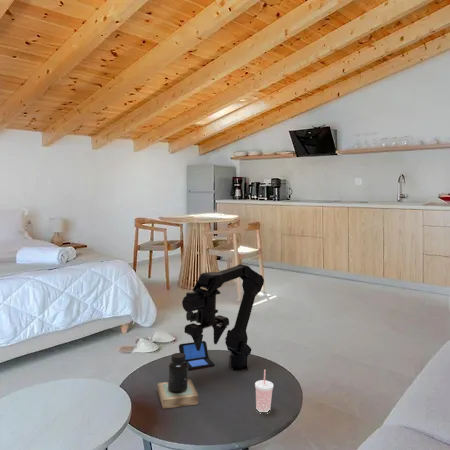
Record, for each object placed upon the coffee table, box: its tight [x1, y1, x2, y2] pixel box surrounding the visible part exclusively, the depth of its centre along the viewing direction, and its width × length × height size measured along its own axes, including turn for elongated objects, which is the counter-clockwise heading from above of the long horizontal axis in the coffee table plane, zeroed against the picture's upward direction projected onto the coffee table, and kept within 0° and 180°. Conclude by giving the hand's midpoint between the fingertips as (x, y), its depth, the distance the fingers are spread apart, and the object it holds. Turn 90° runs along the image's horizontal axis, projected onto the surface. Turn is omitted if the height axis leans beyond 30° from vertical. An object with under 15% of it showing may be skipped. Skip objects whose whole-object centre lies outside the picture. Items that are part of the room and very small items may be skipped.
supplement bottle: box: [167, 352, 189, 393], centre depth 143 cm, size 7×7×12 cm
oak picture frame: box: [157, 379, 199, 410], centre depth 143 cm, size 12×12×3 cm
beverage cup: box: [254, 369, 274, 412], centre depth 136 cm, size 6×6×14 cm
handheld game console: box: [178, 340, 215, 372], centre depth 171 cm, size 12×11×7 cm
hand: (206, 347), depth 156 cm, fingers open, 9 cm apart
